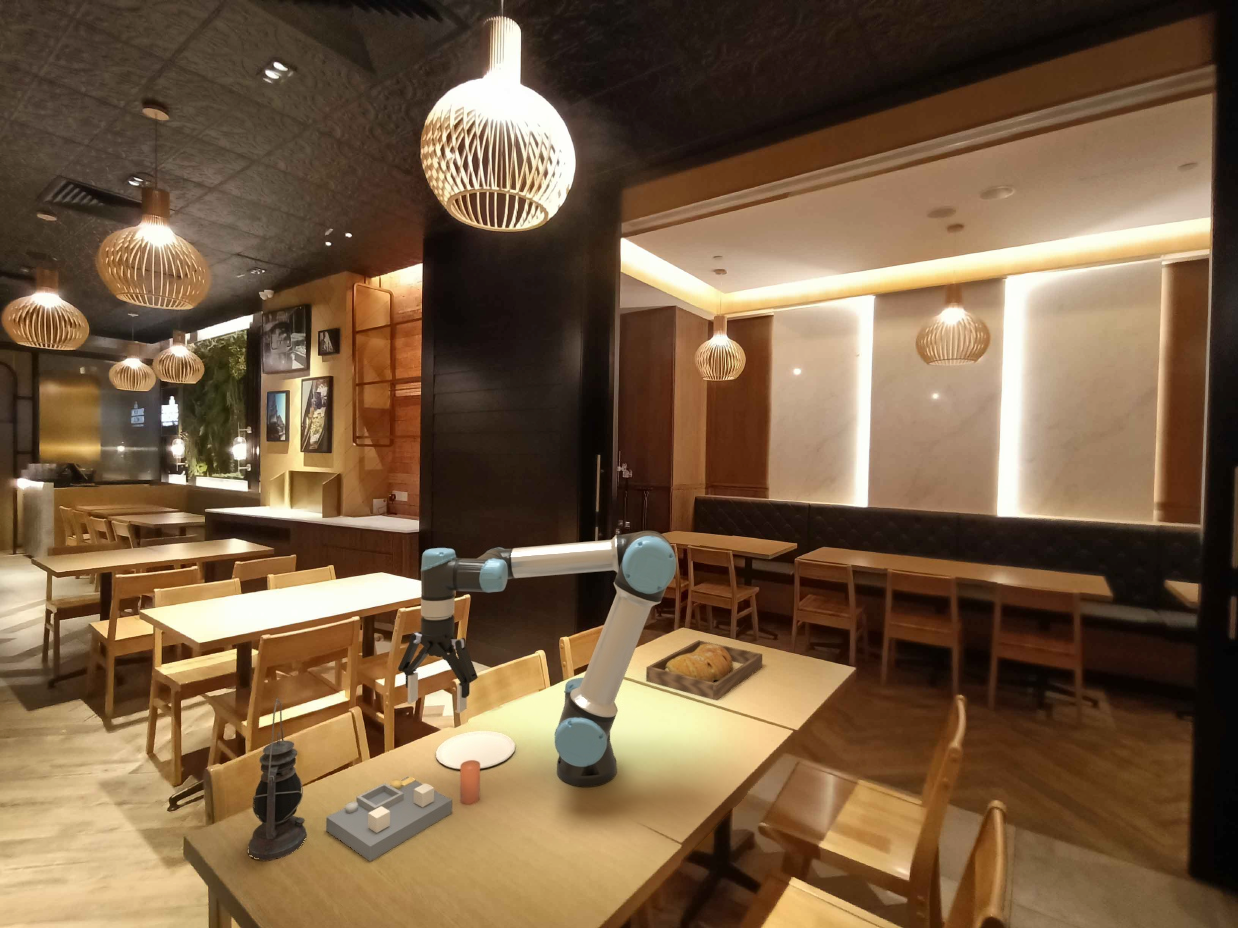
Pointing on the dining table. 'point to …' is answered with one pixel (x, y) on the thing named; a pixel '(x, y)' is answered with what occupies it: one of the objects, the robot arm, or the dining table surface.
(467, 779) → the cap
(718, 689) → the bread tray
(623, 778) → the dining table surface
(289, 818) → the lantern
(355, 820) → the grey flat block
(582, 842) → the dining table surface
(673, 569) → the robot arm
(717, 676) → the bread
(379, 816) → the toggle
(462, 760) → the plate
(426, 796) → the toggle
